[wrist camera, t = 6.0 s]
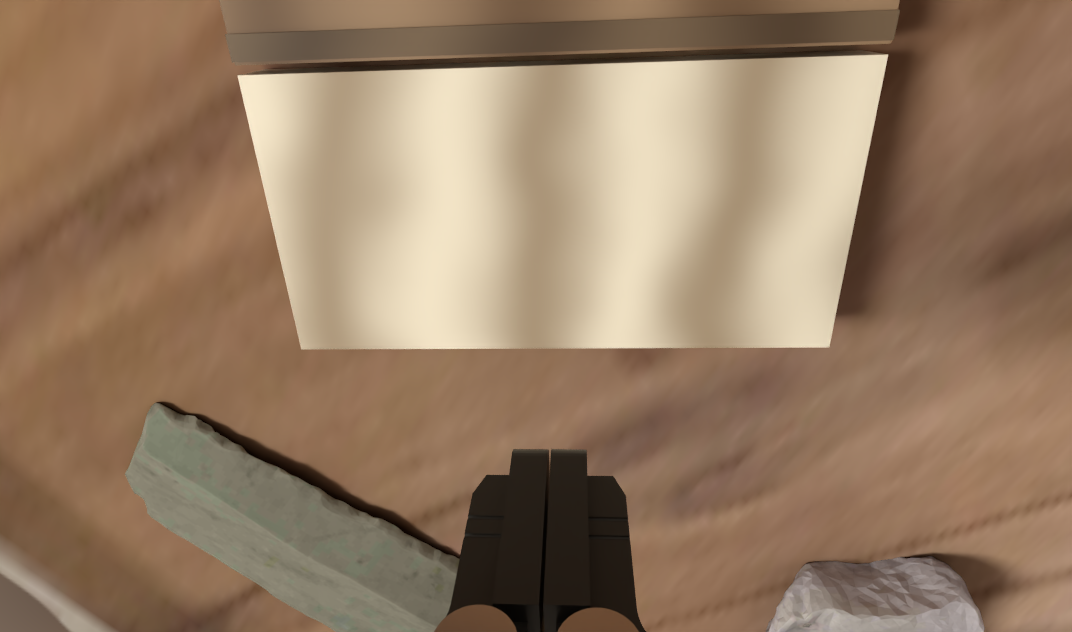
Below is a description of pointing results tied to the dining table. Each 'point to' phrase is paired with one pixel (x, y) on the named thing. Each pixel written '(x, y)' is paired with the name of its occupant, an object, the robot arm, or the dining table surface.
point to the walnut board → (538, 27)
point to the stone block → (877, 598)
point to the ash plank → (566, 198)
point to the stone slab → (288, 532)
